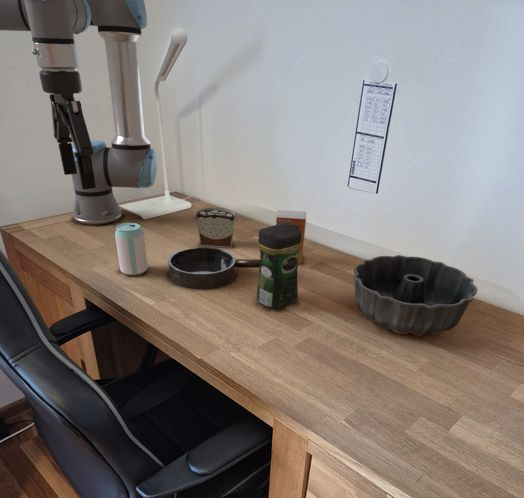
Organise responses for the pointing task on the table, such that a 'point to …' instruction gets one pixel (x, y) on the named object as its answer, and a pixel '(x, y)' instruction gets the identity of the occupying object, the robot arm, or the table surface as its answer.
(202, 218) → the food container
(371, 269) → the bundt pan
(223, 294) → the table surface
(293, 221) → the small box
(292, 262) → the coffee jar
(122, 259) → the can
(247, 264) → the skillet handle
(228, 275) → the skillet
